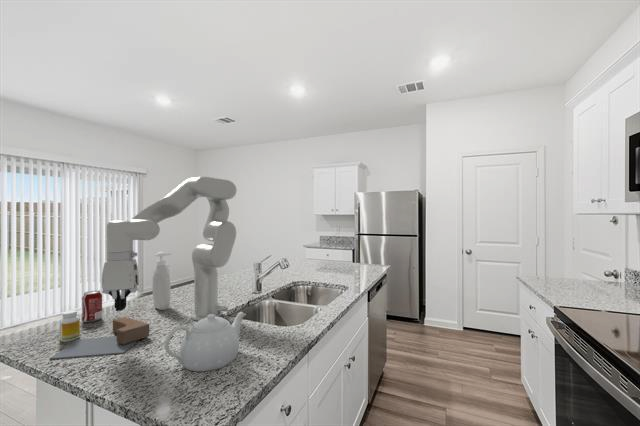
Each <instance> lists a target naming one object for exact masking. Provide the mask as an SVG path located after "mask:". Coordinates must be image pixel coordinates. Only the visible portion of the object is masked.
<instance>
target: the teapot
mask: <svg viewBox="0 0 640 426" xmlns="http://www.w3.org/2000/svg"><path fill="white" fill-rule="evenodd" d="M245 316H247V314H246V313H244V312H243V311H240V312H238V313H237V315H236V317H235V318H234V320H233V322H232V324H231V323H230V321H228V320H227V319H225V318H224V317H221V316H219V317H215V315H214V314H209V315H208V316H207V318H204V319H201V320H199V321H196V322H195V323H193V324H192V325H191V327H190V328H188V327H187V326H185V325H178V326H176V327H174V328H172V329H171V330H170V332H168V334H167V336H166V338H165V340H164V350H165V351H166V353H167V354H168V355H169V356H170V357H172V358H175V359H177V362H178V364H179V365H182V366H183V367H184V368H185V369H187V370H189V371H193V372H210V371H215V370H218V369H222V368H223V367H227V365H230V364H231V363H232V362H233V361H234V360H235V359H236V357H237V356H238V354H239V349H240V333H241V326H242V320H243V318H244V317H245ZM180 330H184V331H185V333H186V334H185V335H184V337H183V339H182V341H181V343H180V347H179V354H177V353H176V352H173V351H172V350H171V349H170V348H169V344H170V341H171V338H172V337H173V335H174V334H175V333H176V332H177V331H178V332H179V331H180Z"/></svg>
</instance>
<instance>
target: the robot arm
mask: <svg viewBox="0 0 640 426" xmlns="http://www.w3.org/2000/svg"><path fill="white" fill-rule="evenodd" d="M236 194H237V186H236V184H235V183H234V182H233V181H231V180H229V179H225V178H224V179H222V178H217V177H216V178H215V177H210V176H195V177H194V176H193V177H189V178H187V179H185V180H184V181H182V182H181V183H180V184H179V185H178V186H176V187H175V188H174V189H173V190H171V191H170V192H169V193H168V194H167V195H165V196H164V197H162V198H161V199H158V200H157V201H156V202H154V203H152V204H150V205H149V206H147V207H145V208H144V209H143V210H141V211H139V212H138V213H137V214H135V215H134V216H133V217H132V218H131V219H129V220H111V221H108V222H107V224H106V261H104V263H103V267H102V274H101V288H102V291H101V294H104V295H109V296H111V298H112V299H113V300H114V308H115V311H116V312H122V311H124V310H125V309H126V307H127V297H128V296H129V295H130V294H133V293H137V291H139V288H138V287H139V285H140V275H139V272H140V271H139V267H138V261H137V259H136V258H135V257H138V252H135V251H134V241H150V240H155V238H157V237H158V236H159V234H160V232H161V230H160V229H161V228H160V225H159V224H158V223H160V222H162V221H164V220H166V219H169V218H172V217H175V216H178V215H180V214H182V213H183V212H184V211H185V210H186V209H187V208H188V207H189V206H190V205H192V203H194V202H195V201H197V199H199V198H206V199H207V201H208V203H209V213H208V216H207V218H206V222H205V224H204V227H203V232H202V236H203V239H204V240H206V241H207V242H213V244H212V243H201V244H198V245H197V246H195V248H193V250H192V253H191V261H192V265H193V266H192V267H193V273H194V274H193V276H194V282H193V283H194V284H193V285H194V312H192V313H191V315H190V319H191V320H193V321H196V322H198V321H199V320H201V319H204V318H207V316H208V315H209V314H214V315H215V317H221V316H222V312H228V311H229V306H227V305H221V304H220V302H219V299H218V297H219V291H218V290H219V288H218V287H219V286H218V285H219V284H218V282H219V280H218V278H219V275H218V269H217V268H222V267H224V266H226V265H227V263H228V262H229V260H230V257H231V254H232V251H233V248H234V244H235V242H236V237H237V229H236V226H235V224H234V223H233V222H231V221H228V219H229V216H230V207H229V203H228V202H227V201H228V200H232V199H233V198H234V197H236Z"/></svg>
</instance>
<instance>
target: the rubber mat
mask: <svg viewBox="0 0 640 426" xmlns="http://www.w3.org/2000/svg"><path fill="white" fill-rule="evenodd" d="M136 341H137V340H136ZM136 341H133V342H130V343H126V344H123V345H122V344H120V343H117V335H116V336H115V335H114V336H104V337H103V336H101V337H90V338H89V337H87V338H77V339H76V340H74V342H73V343H71V344H69V345H68V346H66V347H65V348H63V349H61V350H60V351H59V352H57V353H55V354H54V355H52V356H51V357H50V358H49V360H51V361H52V360H63V359H73V358H75V359H76V358H83V357H84V358H85V357H97V356H98V357H99V356H108V355H109V356H111V355H121V354H126V353H127V351H128V350H129V349H130V348H131V347H133V346H134V345H135V343H137V342H136Z"/></svg>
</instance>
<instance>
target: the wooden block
mask: <svg viewBox="0 0 640 426" xmlns="http://www.w3.org/2000/svg"><path fill="white" fill-rule="evenodd" d="M112 332H114V333H116V336H117V343H120V344H122V345H123V344H126V343H130V342H133V341H136V340H138V341H139V340H141V339H144V338H147V337H150V324H149V323H147V322H144V321H140V320H137V319H133V318H130V317H127V316H123V317H119V318H114V319H113V320H112Z"/></svg>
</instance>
